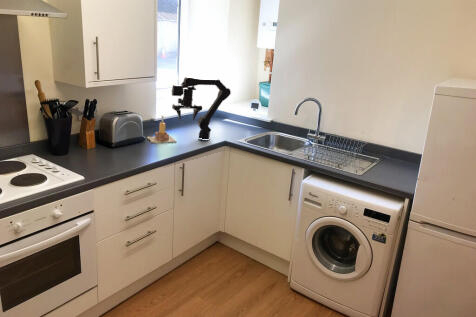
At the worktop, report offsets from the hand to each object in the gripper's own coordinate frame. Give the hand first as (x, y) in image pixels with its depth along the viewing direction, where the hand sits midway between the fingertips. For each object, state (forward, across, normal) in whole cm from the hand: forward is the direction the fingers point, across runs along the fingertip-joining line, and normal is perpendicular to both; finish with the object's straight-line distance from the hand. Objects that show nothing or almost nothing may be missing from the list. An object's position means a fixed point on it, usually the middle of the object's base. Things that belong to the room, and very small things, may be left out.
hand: (186, 120), depth 263 cm
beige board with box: (+13, +16, +1) cm, 21 cm away
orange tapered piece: (+12, +16, +1) cm, 20 cm away
